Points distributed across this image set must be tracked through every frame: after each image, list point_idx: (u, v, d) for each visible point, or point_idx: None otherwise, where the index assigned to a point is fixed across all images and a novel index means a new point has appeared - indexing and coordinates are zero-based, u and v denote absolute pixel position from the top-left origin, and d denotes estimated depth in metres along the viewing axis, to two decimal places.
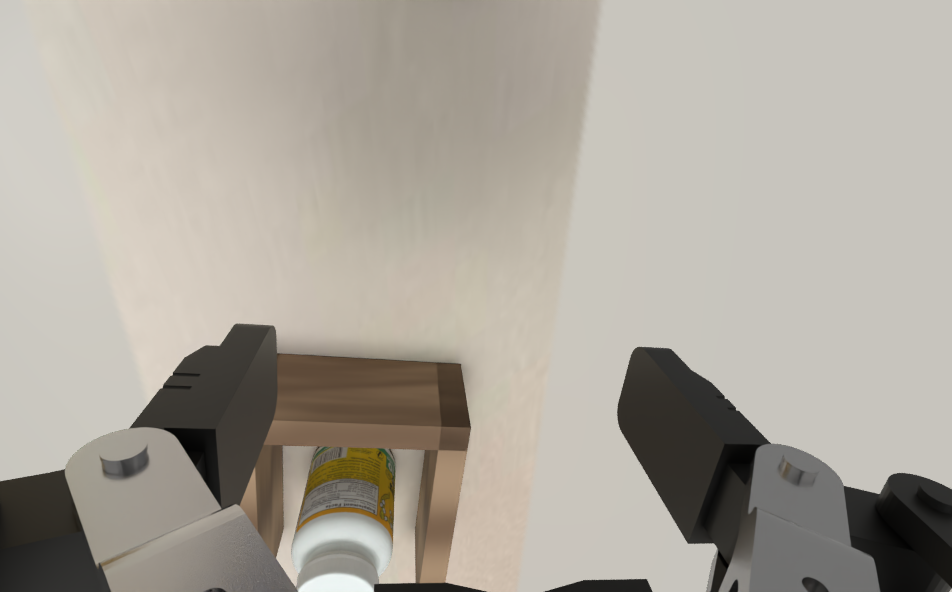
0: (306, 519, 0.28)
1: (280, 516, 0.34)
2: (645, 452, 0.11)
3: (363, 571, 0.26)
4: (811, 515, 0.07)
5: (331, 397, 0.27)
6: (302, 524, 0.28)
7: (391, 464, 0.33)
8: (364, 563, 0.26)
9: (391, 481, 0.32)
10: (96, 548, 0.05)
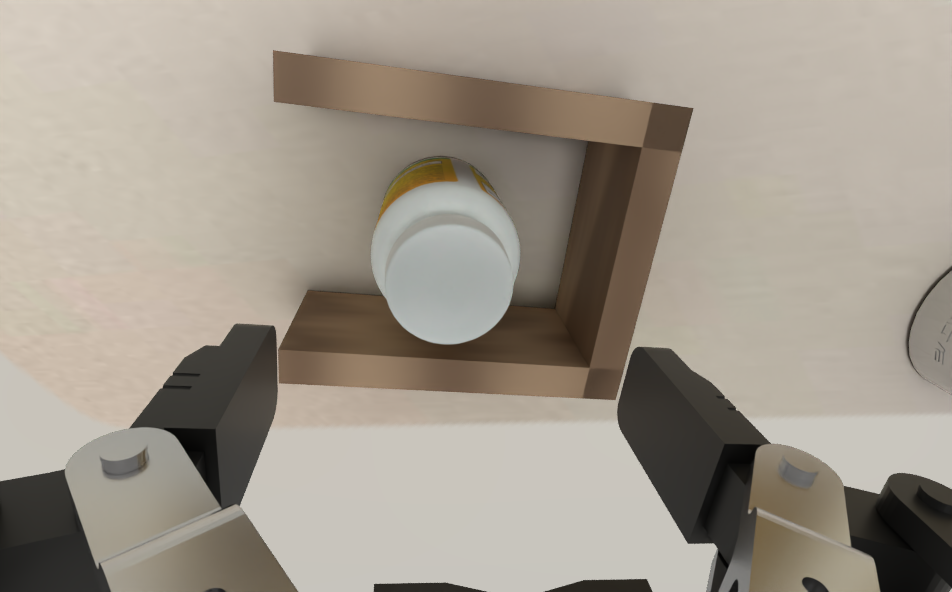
0: (503, 206, 0.19)
1: None
2: (645, 452, 0.11)
3: None
4: (811, 515, 0.07)
5: None
6: (497, 201, 0.18)
7: None
8: None
9: None
10: (96, 548, 0.05)
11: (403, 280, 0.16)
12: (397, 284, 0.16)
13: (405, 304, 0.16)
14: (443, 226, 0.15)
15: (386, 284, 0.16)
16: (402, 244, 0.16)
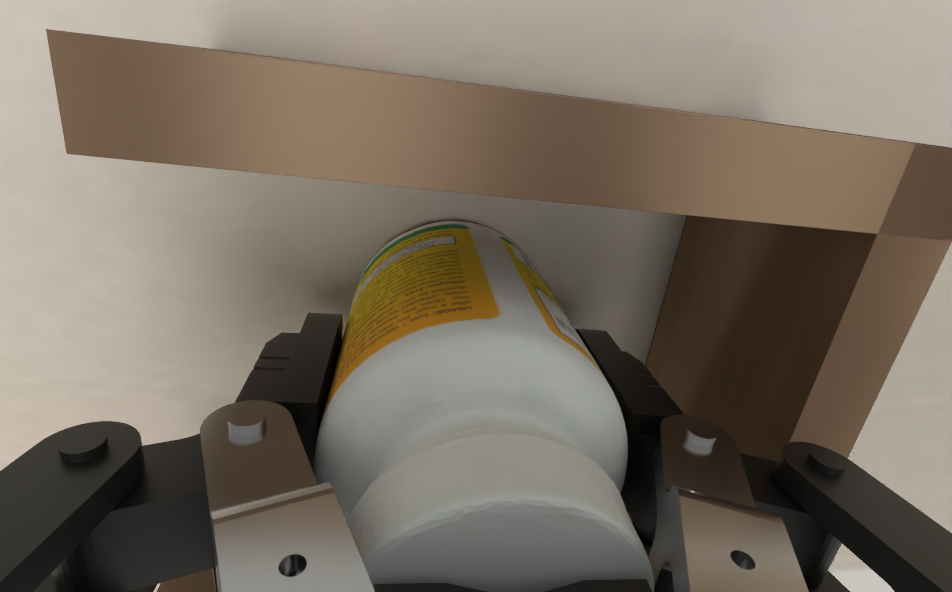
0: (592, 360, 0.09)
1: None
2: None
3: None
4: (717, 481, 0.08)
5: None
6: (583, 352, 0.09)
7: None
8: None
9: None
10: (213, 499, 0.06)
11: None
12: None
13: None
14: (488, 504, 0.06)
15: None
16: (375, 548, 0.06)
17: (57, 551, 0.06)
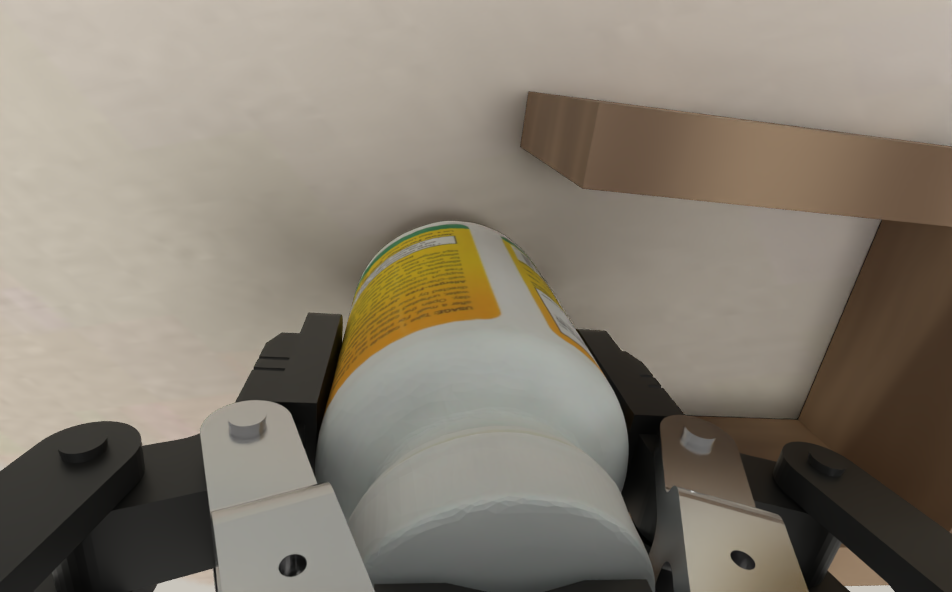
0: (592, 359, 0.09)
1: None
2: None
3: None
4: (718, 481, 0.08)
5: None
6: (584, 351, 0.09)
7: None
8: None
9: None
10: (213, 499, 0.06)
11: None
12: None
13: None
14: (489, 504, 0.06)
15: None
16: (377, 547, 0.06)
17: (57, 551, 0.06)
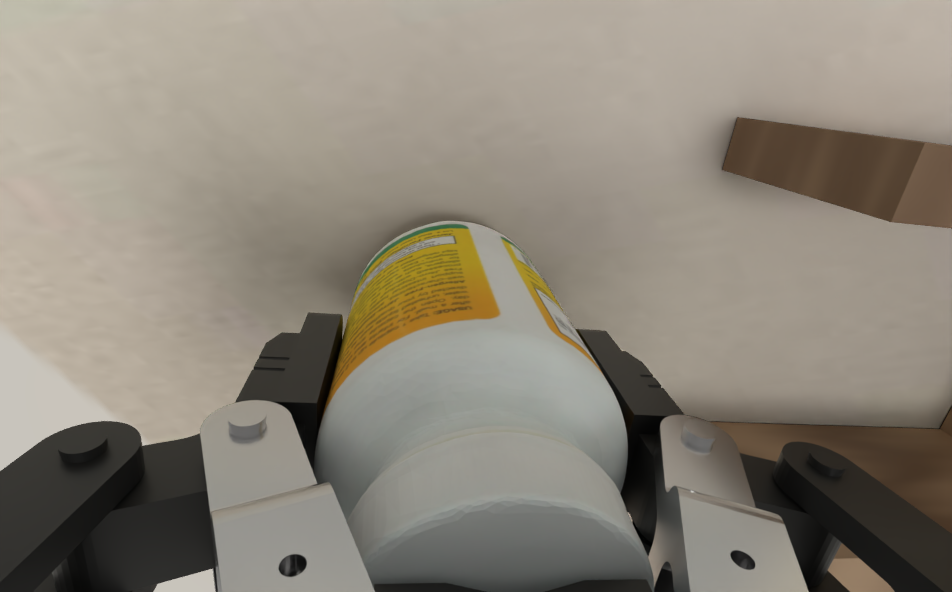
0: (593, 359, 0.09)
1: None
2: None
3: None
4: (718, 482, 0.08)
5: None
6: (583, 352, 0.09)
7: None
8: None
9: None
10: (213, 499, 0.06)
11: None
12: None
13: None
14: (488, 504, 0.06)
15: None
16: (375, 548, 0.06)
17: (57, 551, 0.06)
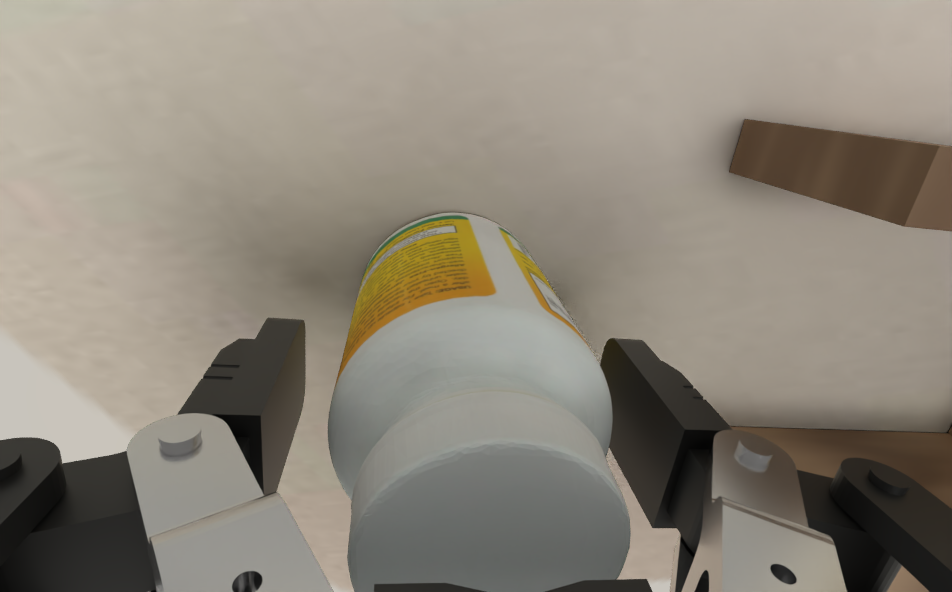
0: (580, 335, 0.10)
1: None
2: (616, 441, 0.11)
3: None
4: (769, 499, 0.07)
5: None
6: (571, 327, 0.10)
7: None
8: None
9: None
10: (149, 523, 0.06)
11: (389, 554, 0.07)
12: (376, 563, 0.07)
13: None
14: (483, 447, 0.07)
15: (351, 563, 0.07)
16: (386, 485, 0.07)
17: None
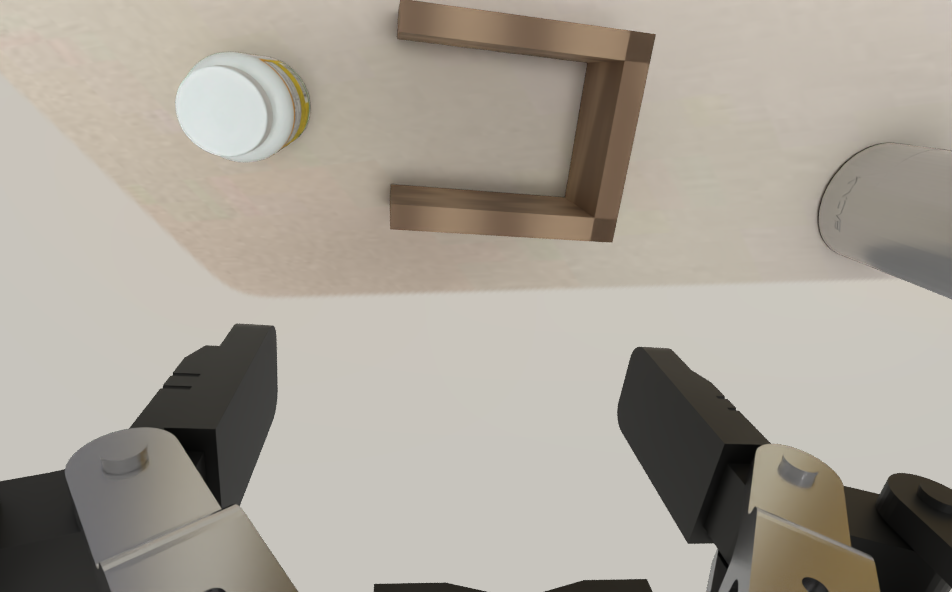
0: (276, 71, 0.27)
1: (431, 42, 0.32)
2: (645, 452, 0.11)
3: (261, 142, 0.25)
4: (811, 515, 0.07)
5: None
6: (271, 67, 0.27)
7: None
8: (263, 141, 0.26)
9: None
10: (96, 548, 0.05)
11: (187, 106, 0.24)
12: (183, 109, 0.24)
13: (192, 124, 0.24)
14: (209, 67, 0.23)
15: (176, 110, 0.24)
16: (183, 80, 0.23)
17: None
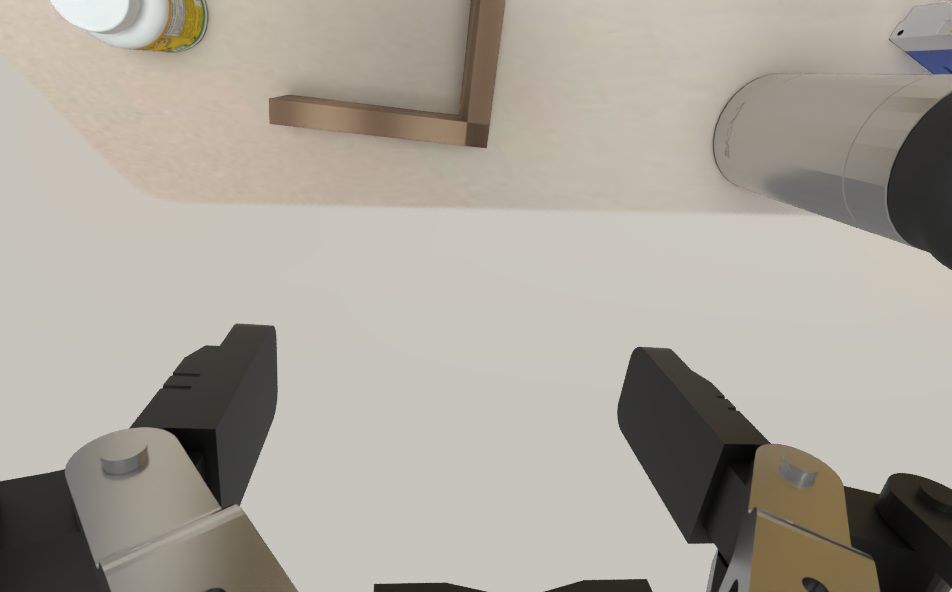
0: None
1: None
2: (645, 452, 0.11)
3: (127, 20, 0.28)
4: (811, 515, 0.07)
5: None
6: None
7: (181, 49, 0.35)
8: (131, 21, 0.28)
9: (171, 49, 0.34)
10: (96, 548, 0.05)
11: None
12: None
13: None
14: None
15: None
16: None
17: None
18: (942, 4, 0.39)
